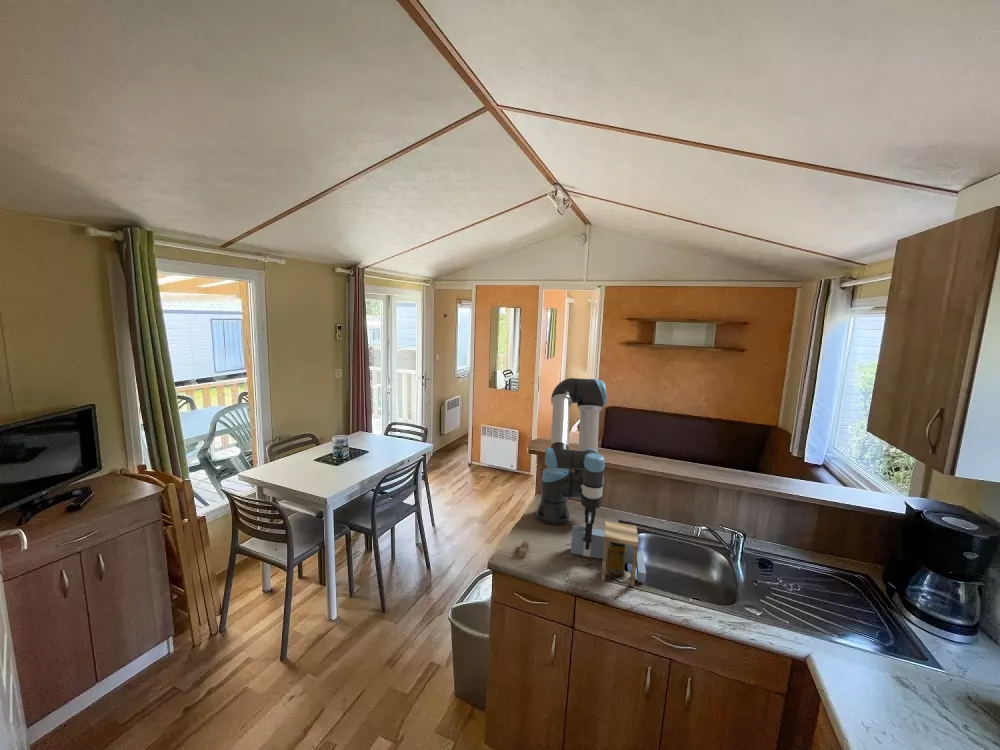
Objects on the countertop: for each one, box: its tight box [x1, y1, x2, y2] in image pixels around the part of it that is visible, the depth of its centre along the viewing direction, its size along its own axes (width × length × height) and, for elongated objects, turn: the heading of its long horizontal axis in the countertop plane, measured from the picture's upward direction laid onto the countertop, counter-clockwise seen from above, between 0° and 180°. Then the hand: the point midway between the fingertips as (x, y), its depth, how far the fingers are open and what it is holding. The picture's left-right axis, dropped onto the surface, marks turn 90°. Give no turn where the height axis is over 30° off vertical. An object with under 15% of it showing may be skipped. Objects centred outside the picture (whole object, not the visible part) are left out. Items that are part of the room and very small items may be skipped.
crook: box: [570, 525, 647, 582], centre depth 152 cm, size 14×26×9 cm, turn 75°
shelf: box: [600, 520, 639, 588], centre depth 146 cm, size 12×11×17 cm
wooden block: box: [518, 538, 530, 559], centre depth 159 cm, size 8×2×3 cm, turn 166°
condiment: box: [600, 542, 631, 583], centre depth 147 cm, size 7×8×12 cm
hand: (586, 552), depth 159 cm, fingers closed on crook, 4 cm apart
